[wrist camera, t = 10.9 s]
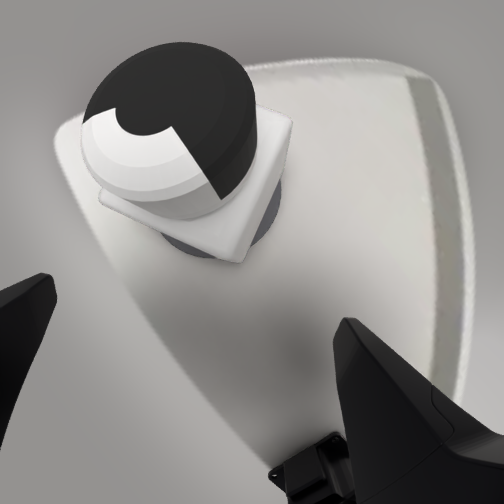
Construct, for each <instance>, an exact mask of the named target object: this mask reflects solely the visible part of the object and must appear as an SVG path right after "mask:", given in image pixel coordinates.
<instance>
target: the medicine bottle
mask: <svg viewBox="0 0 504 504" xmlns="http://www.w3.org/2000/svg"><path fill="white" fill-rule="evenodd" d="M292 124H293V122H292V120H291V118H290V117H289V116H287V115H285V114H282V113H279V112H277V111H274V110H271V109H268V108H265V107H263V106H260V105H257V104H256V102H255V92H254V89H253V85H252V82H251V80H250V78H249V76H248V74H247V73H246V71H245V70H244V68H243V67H242V66H241V65H240V64H239V63H238V62H237V61H236V60H235V59H234V58H232V57H231V56H230V55H228V54H227V53H225V52H223V51H221V50H219V49H216V48H214V47H210V46H207V45H203V44H196V43H189V42H177V43H168V44H162V45H158V46H155V47H151V48H149V49H146V50H144V51H141V52H139V53H137V54H135V55H134V56H132V57H130V58H128V59H127V60H126V61H124V62H123V63H121V64H120V65H119V66H117V67H116V68H115V69H114V70H113V71H112V72H111V73H110V74H109V75H108V76H107V77H106V78H105V79H104V80H103V81H102V82H101V84H100V85H99V86H98V88H97V89H96V91H95V93H94V94H93V96H92V98H91V100H90V102H89V104H88V106H87V109H86V112H85V115H84V119H83V123H82V128H81V151H82V156H83V160H84V162H85V165H86V167H87V169H88V171H89V173H90V174H91V176H92V177H93V178H94V180H95V181H96V182H97V183H98V184H99V185H100V186H101V187H102V189H101V191H100V193H99V196H98V199H99V202H100V203H101V204H102V205H104V206H106V207H108V208H110V209H112V210H114V211H117V212H119V213H121V214H123V215H125V216H127V217H129V218H132V219H134V220H136V221H138V222H140V223H142V224H145V225H147V226H149V227H151V228H153V229H155V230H158V231H160V232H162V233H164V234H166V235H168V236H171V237H173V238H175V239H177V240H179V241H182V242H184V243H186V244H188V245H190V246H193V247H195V248H197V249H199V250H201V251H204V252H206V253H208V254H210V255H213V256H215V257H217V258H219V259H222V260H226V261H230V262H235V263H241V262H242V261H243V260H244V258H245V256H246V254H247V252H248V249H249V247H250V245H251V243H252V240H253V238H254V236H255V233H256V231H257V229H258V227H259V224H260V222H261V220H262V218H263V215H264V213H265V211H266V209H267V206H268V204H269V202H270V199H271V197H272V195H273V193H274V190H275V188H276V186H277V184H278V181H279V179H280V177H281V175H282V172H283V170H284V166H285V161H286V156H287V151H288V146H289V140H290V135H291V130H292Z"/></svg>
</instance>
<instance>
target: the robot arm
mask: <svg viewBox="0 0 504 504" xmlns="http://www.w3.org/2000/svg"><path fill="white" fill-rule="evenodd" d="M56 303H57V293H56V289H55V284H54V279H53V277H52V276H51V275H50V274H45V273H39V274H37V275H34V276H32V277H30V278H28V279H25V280H23V281H21V282H19V283H16V284H14V285H12V286H10V287H7V288H5V289H3V290H1V291H0V447H1V445H2V442H3V439H4V436H5V432H6V429H7V426H8V423H9V420H10V417H11V414H12V412H13V409H14V406H15V403H16V401H17V398H18V395H19V393H20V390H21V388H22V385H23V383H24V381H25V378H26V376H27V373H28V371H29V369H30V366H31V364H32V362H33V360H34V357H35V355H36V353H37V351H38V349H39V347H40V344H41V342H42V340H43V337H44V335H45V331H46V329H47V326H48V324H49V321H50V318H51V316H52V313H53V311H54V308H55V306H56ZM333 350H334V361H335V372H336V383H337V390H338V395H339V401H340V406H341V411H342V416H343V422H344V427H345V433H346V438H347V441H346V440H345V438H344V437H343V436H342V435H341V434H340V433H338V432H335V433H332V434H330V435H329V436H327V437H326V438H324V439H323V440H321V441H320V442H318V443H317V444H315V445H313V446H310V447H309V448H307V449H305V450H304V451H302V452H301V453H299V454H297V455H296V456H294V457H292V458H291V459H289V460H287V461H285V462H284V464H282V465H280V466H278V467H277V468H275V469H273V470H271V471H270V472H269V473H268V478H269V480H271V481H272V482H273V483H274V484H275V485H276V486H278V487H279V488H280V489H281V490H283V491H284V492H285V493H286V496H287V499H288V504H504V435H500V434H497V433H495V432H493V431H491V430H490V429H488V428H487V427H486V426H484V425H483V424H481V423H480V422H479V421H478V420H476V419H475V418H474V417H472V416H471V415H470V414H468V413H467V412H466V411H464V410H463V409H462V408H460V407H459V406H458V405H457V404H455V403H454V402H453V401H451V400H450V399H449V398H448V397H447V396H446V395H444V394H443V393H442V392H441V391H440V390H439V389H437V388H436V387H435V386H434V385H432V383H431V382H429V381H428V380H427V379H426V378H425V377H424V376H423V375H421V374H420V373H419V372H418V371H417V370H416V369H415V368H413V367H412V366H411V365H410V364H409V363H408V362H406V361H405V360H404V359H403V358H402V357H401V356H400V355H398V354H397V353H396V352H395V351H394V350H393V349H391V348H390V347H389V346H388V345H387V344H386V343H384V342H383V341H382V340H381V339H380V338H379V337H377V336H376V335H375V334H374V333H373V332H372V331H370V330H369V329H368V328H367V327H366V326H365V325H363V324H362V323H361V322H360V321H359V320H357V319H356V318H348V317H345V318H343V319H342V320H341V322H340V324H339V327H338V329H337V331H336V333H335V336H334V339H333ZM334 438H338V439H337V440H333V439H334ZM0 450H1V449H0ZM272 475H277V476H272Z"/></svg>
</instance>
